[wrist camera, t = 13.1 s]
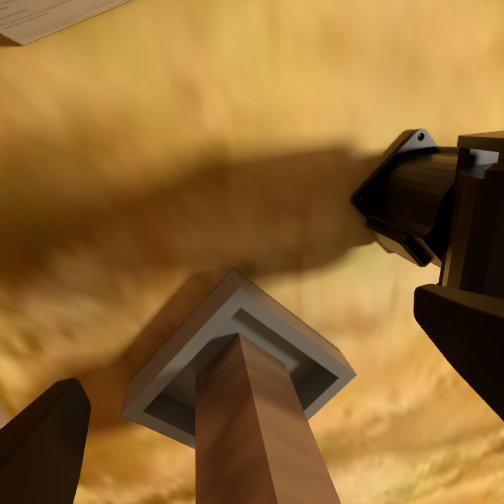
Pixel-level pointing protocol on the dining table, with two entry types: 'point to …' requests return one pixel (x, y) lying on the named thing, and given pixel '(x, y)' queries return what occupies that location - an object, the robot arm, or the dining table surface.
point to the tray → (214, 340)
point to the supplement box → (46, 16)
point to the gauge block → (254, 433)
